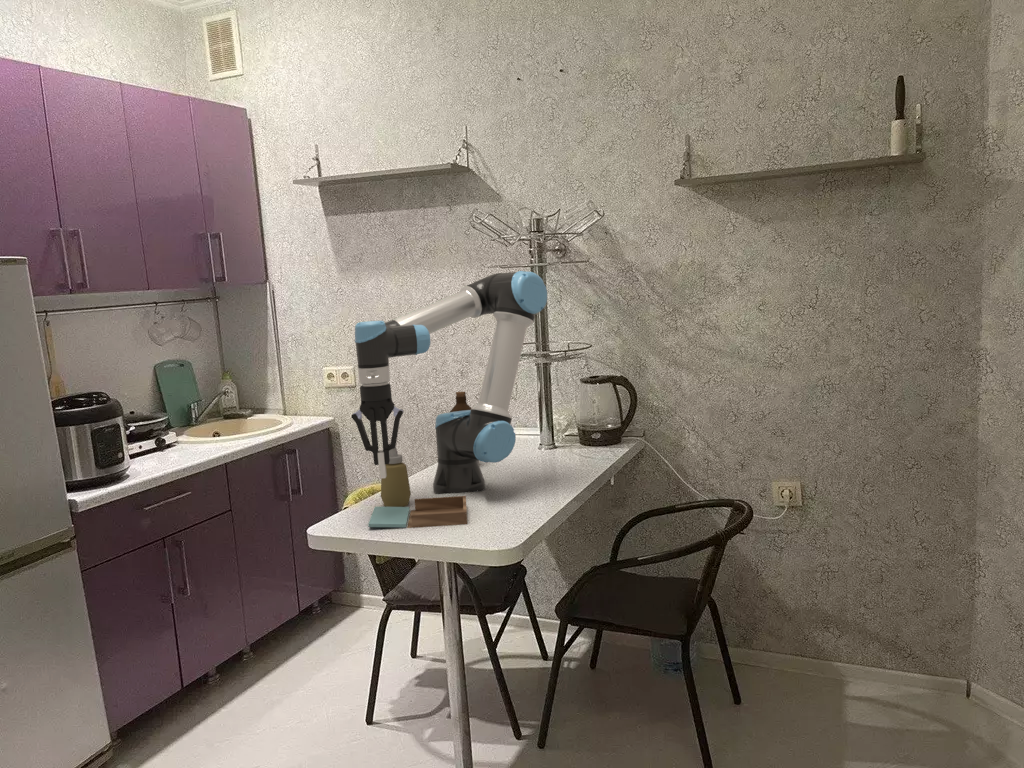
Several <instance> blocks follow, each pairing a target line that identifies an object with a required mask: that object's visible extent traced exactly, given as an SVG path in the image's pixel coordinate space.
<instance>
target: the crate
mask: <svg viewBox="0 0 1024 768" xmlns="http://www.w3.org/2000/svg"><path fill="white" fill-rule="evenodd" d="M467 511H468V509H467V496H466V495H457V496H441V497H426V498H414V509H410V511H409V515H408V520H407V525H406V528H407V529H412V528H413V529H415V528H430V527H431V528H432V527H445V526H458V525H459V526H461V525H462V526H463V525H468V512H467Z"/></svg>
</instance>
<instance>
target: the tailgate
mask: <svg viewBox="0 0 1024 768" xmlns="http://www.w3.org/2000/svg"><path fill="white" fill-rule="evenodd" d="M410 511H411V509H410V506H405V507H385V506H374V508H373V511H372V513H371V516H370V518H369V521H368V525H367V527H368V528H407V525H408V521H409V516H410Z"/></svg>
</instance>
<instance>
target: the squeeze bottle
mask: <svg viewBox="0 0 1024 768" xmlns="http://www.w3.org/2000/svg"><path fill="white" fill-rule="evenodd" d="M389 444H391V442H390V443H389ZM389 457H390V462H389V464H386V473H387V476H386V478H382V479H380V498H381V501H382V503H383V507H408V506H409V502H410V500H411V495H412V491H411V487H410V480H409V475H408V473H409V472H408V467H407V464H405V463H404V462H403V455H402V454H399V453H398V450H397V447H396V446H395V448H394V449H391V450H389Z"/></svg>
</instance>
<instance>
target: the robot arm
mask: <svg viewBox="0 0 1024 768" xmlns="http://www.w3.org/2000/svg"><path fill="white" fill-rule="evenodd" d="M544 283H545V282H544V280H543V278H542V277H541V276H539V274H538V273H535V272H533V271H525V270H519V271H513V272H497V273H494V274H493V273H492V274H490V275H487V276H485V277H483V278H481V279H479V280H476V281H474V282H472V283H470V284H468V285H465V286H463V287H461V288H460V290H459V292H457V293H455V294H452V295H450V296H447V297H445V298H443V299H440V300H438V301H435V302H432V303H430V304H427V305H425V306H423V307H420V308H418V309H415V310H413V311H411V312H408V313H405V314H403V315H401V316H399V317H396V318H394V319H391V320H388V321H386V322H385V321H384V320H369V321H368V320H367V321H360V322H357V323H356V324H355V327H354V343H355V349H356V357H357V358H356V359H357V371H358V383H359V384H360V385H361V386H360V387H359V394H360V395H359V396H360V405H359V409H358V410H357V411H355V412H353V413H352V414H351V419H352V420H353V421H354V423H355V424H356V427H357V429H358V433H359V436H360V438H361V441H362V443H363V447H364V450H365V452H371V453H372V454H373V455H372V457H373V464H374V466H378V473H379V476H378V477H379V479H380V480H381V479H382V478H386V476H387V473H386V464H389V462H390V457H389V450H391V449H394V448H395V446H396V445H397V440H398V434H399V428H400V421H401V418H402V416H403V414H404V410H403V409H402V408H399V407H397V406H395V404H394V401H393V399H392V397H393V396H392V385H391V384H390V381H391V376H390V375H391V373H390V372H391V371H390V363H389V361H390V360H389V358H390V359H391V358H397V357H406V356H418V355H420V354H425V353H426V352H428V351H429V349H430V347H431V341H432V340H431V335H432V334H433V333H435V332H437V331H439V330H442V329H444V328H447V327H449V326H452V325H453V324H456V323H459V322H461V321H463V320H466V319H468V318H472V319H476V318H479V317H481V316H486V315H490V314H491V315H493V317H494V318H495V319H496V324H495V329H494V333H493V337H492V340H491V341H492V342H491V346H490V350H489V355H488V359H487V364H486V368H485V370H484V371H485V372H484V376H483V381H482V385H481V388H480V392H479V393H480V394H479V397H478V403H477V404H476V405H475V406H473V407H471V410H464V411H456V412H450V411H448V412H444V413H440V414H438V415H436V417H435V427H434V429H435V437H436V453H437V454H436V455H437V468H436V472H435V475H434V480H433V482H432V487H433V489H432V490H433V493H435V494H437V495H445V494H447V495H448V494H462V493H463V494H464V493H477V492H479V493H480V492H482V491H484V490H486V480H485V478H484V475H483V473H482V470H481V467H480V463H479V464H478V460H479V462H482V463H492V464H494V463H499V462H502V461H503V460H504V459H506V458H508V457H509V455H511V453H512V452H513V450H514V447H515V445H516V438H517V437H516V435H517V434H516V432H515V429H514V427H513V426H512V425H511V423H512V419H513V418H512V415H511V414H510V412H509V409H510V403H511V399H512V395H513V389H514V386H515V380H516V376H517V372H518V368H519V362H520V360H521V359H520V358H521V355H522V351H523V350H522V349H523V346H524V340H525V337H526V333H527V329H528V327H530V326H531V325H534V322H535V316H536V315H537V314H538V313H540V312H541V311H542V310H544V308H545V307H546V305H547V302H548V289H547V287H546V284H544ZM392 413H393V417H394V421H393V428H392V432H391V439H390V443H391V444H390V443H389V436H388V435H389V433H388V422H387V420H388V419H389V417H390V415H391V414H392ZM363 416H364V417H365V418H366V419H367V421H369V426H370V435H371V436H370V437H371V443H370V439H369V436H368V434H367V431H366V428H365V425H364V422H363V420H362V418H363ZM377 422H380V431H381V439H382V440H381V441H382V442H381V443H382V450H379V438H378V427H377Z"/></svg>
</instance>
